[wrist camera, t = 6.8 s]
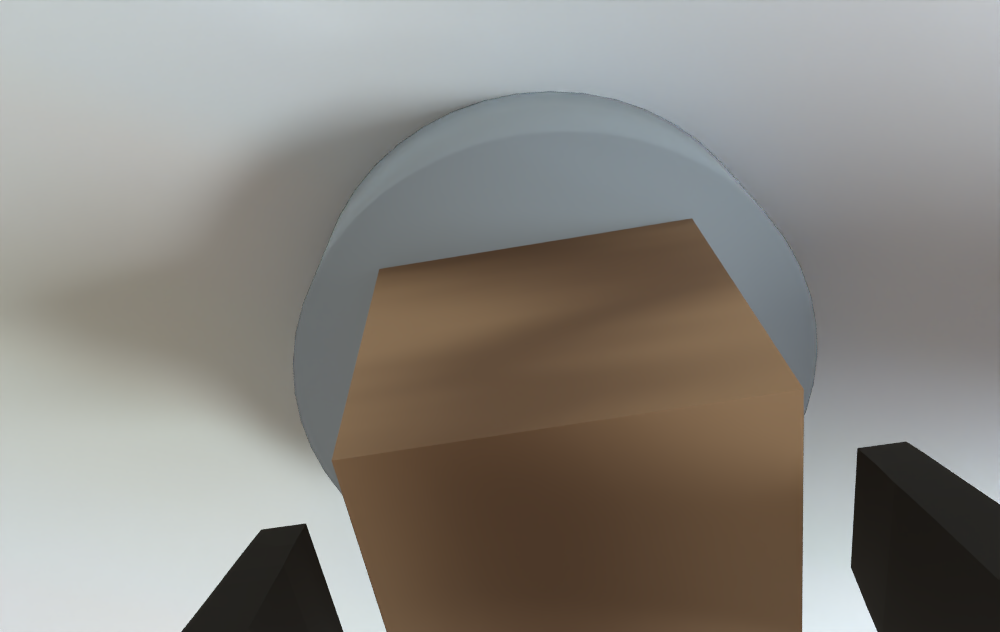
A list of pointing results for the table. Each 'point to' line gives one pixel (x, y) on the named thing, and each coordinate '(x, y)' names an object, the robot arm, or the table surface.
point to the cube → (575, 443)
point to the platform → (533, 222)
